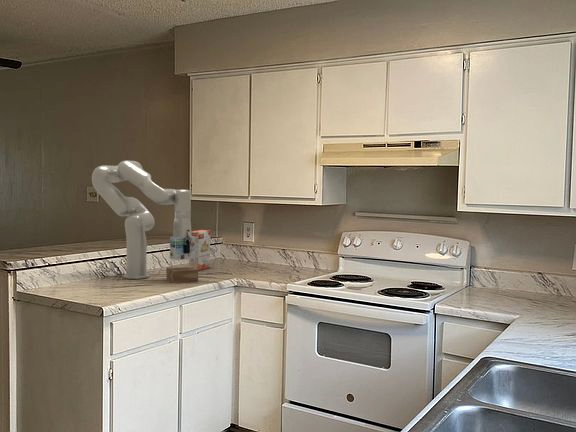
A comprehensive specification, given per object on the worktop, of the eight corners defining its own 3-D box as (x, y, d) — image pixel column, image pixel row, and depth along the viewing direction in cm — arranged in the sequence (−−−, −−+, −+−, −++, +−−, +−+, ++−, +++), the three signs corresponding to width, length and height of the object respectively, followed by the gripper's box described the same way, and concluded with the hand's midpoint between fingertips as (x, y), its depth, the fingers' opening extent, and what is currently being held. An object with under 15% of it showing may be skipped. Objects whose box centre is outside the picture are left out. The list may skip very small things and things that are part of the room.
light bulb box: (175, 260, 282) (175, 237, 281) (169, 258, 287) (169, 236, 287) (195, 258, 288) (195, 236, 288) (189, 257, 294) (189, 235, 293)
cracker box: (198, 271, 317) (199, 232, 316) (188, 270, 319) (188, 231, 318) (210, 267, 331) (210, 230, 329) (200, 267, 333) (201, 229, 331)
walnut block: (166, 279, 291) (166, 267, 291) (190, 278, 297) (190, 266, 296) (173, 283, 280) (173, 271, 280) (198, 282, 286) (198, 269, 286)
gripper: (166, 214, 291) (166, 251, 292) (185, 216, 277) (185, 254, 279) (180, 214, 296) (180, 250, 297) (199, 216, 282) (198, 253, 283)
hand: (182, 252), depth 288 cm, fingers closed on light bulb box, 6 cm apart
